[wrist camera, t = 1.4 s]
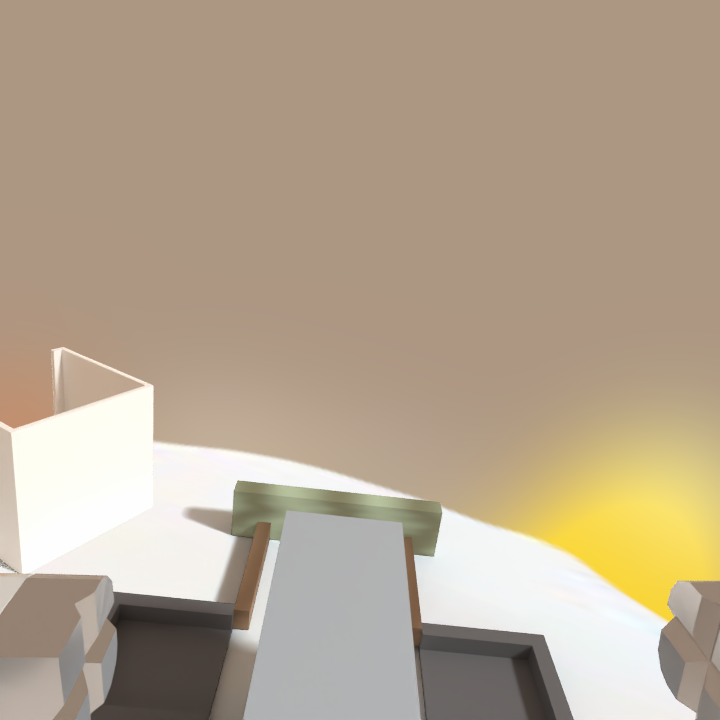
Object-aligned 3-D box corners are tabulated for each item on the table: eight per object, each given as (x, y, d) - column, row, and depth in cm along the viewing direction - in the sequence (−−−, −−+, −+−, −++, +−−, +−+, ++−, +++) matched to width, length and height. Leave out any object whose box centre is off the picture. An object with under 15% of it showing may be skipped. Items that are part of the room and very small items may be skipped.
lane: (101, 925, 25) (98, 858, 23) (235, 523, 50) (237, 480, 49) (499, 958, 25) (520, 894, 24) (431, 544, 50) (439, 502, 49)
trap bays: (40, 738, 31) (39, 716, 31) (109, 610, 40) (109, 591, 39) (583, 788, 32) (590, 768, 32) (538, 653, 41) (543, 635, 40)
